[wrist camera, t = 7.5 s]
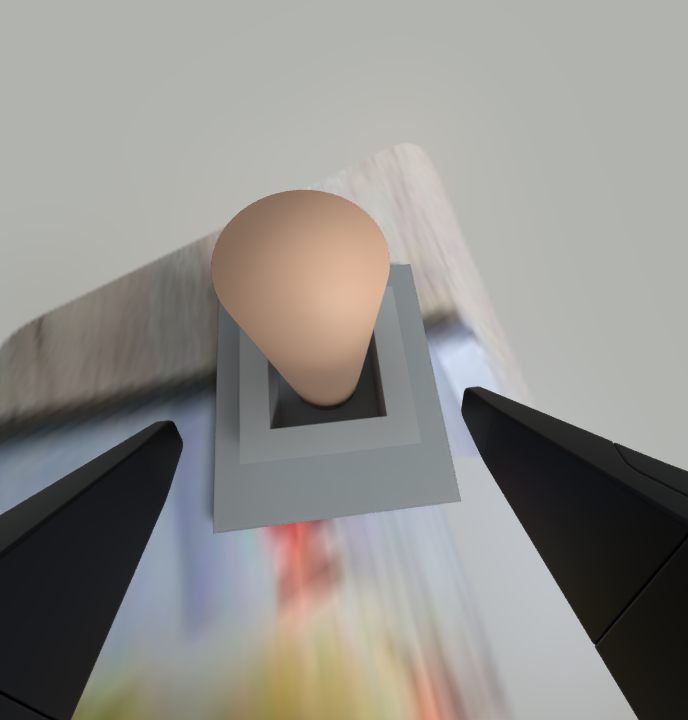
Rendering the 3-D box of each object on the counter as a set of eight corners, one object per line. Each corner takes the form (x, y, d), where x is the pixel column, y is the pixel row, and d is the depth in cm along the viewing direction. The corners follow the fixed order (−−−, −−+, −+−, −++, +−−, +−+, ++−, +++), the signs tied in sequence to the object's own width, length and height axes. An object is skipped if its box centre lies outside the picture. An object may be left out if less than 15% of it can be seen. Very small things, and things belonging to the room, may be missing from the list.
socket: (454, 498, 17) (488, 514, 13) (220, 528, 16) (183, 554, 12) (407, 272, 21) (421, 234, 17) (224, 288, 21) (198, 253, 17)
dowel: (346, 418, 17) (359, 367, 5) (286, 398, 17) (178, 308, 6) (365, 360, 18) (409, 215, 7) (308, 342, 18) (255, 172, 7)
